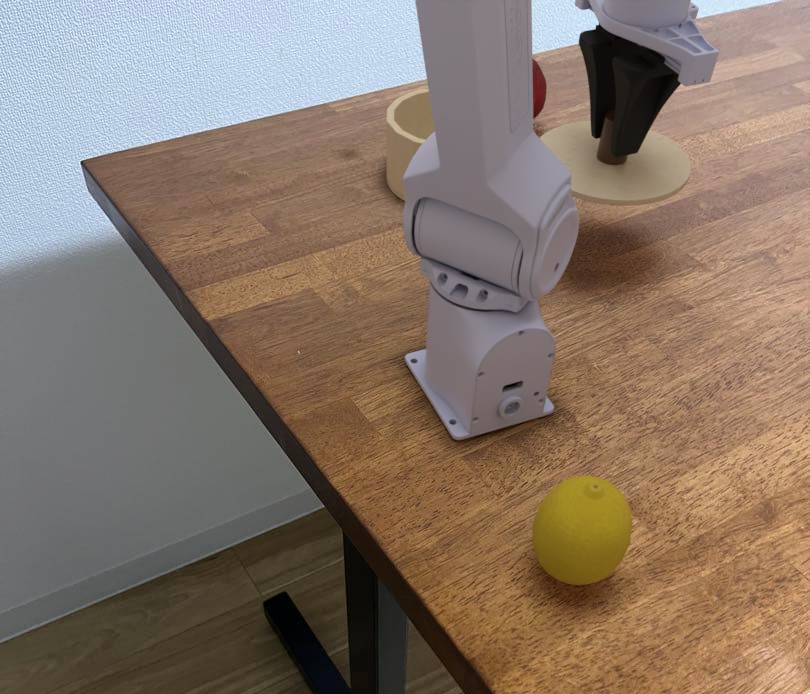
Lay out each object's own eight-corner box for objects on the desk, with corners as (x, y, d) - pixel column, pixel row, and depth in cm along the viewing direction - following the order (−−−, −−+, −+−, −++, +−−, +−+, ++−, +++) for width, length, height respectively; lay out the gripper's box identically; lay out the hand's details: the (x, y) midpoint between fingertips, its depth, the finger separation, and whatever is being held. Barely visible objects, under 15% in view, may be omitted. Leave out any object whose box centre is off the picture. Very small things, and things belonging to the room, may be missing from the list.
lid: (719, 195, 63) (738, 139, 59) (580, 227, 60) (592, 170, 56) (632, 123, 69) (645, 69, 66) (504, 148, 66) (510, 93, 63)
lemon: (611, 617, 48) (646, 534, 41) (518, 600, 48) (539, 516, 42) (615, 544, 51) (648, 457, 45) (528, 529, 52) (548, 442, 45)
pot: (525, 197, 76) (535, 133, 71) (414, 221, 73) (416, 156, 68) (473, 141, 82) (479, 79, 78) (369, 161, 79) (368, 98, 75)
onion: (550, 126, 84) (563, 42, 78) (524, 149, 81) (536, 63, 75) (501, 111, 86) (510, 28, 80) (474, 133, 83) (481, 48, 77)
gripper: (784, -36, 49) (712, 180, 60) (652, -106, 57) (609, 95, 68) (687, -21, 47) (631, 198, 58) (564, -96, 55) (535, 109, 66)
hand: (614, 144), depth 63 cm, fingers closed on lid, 2 cm apart
